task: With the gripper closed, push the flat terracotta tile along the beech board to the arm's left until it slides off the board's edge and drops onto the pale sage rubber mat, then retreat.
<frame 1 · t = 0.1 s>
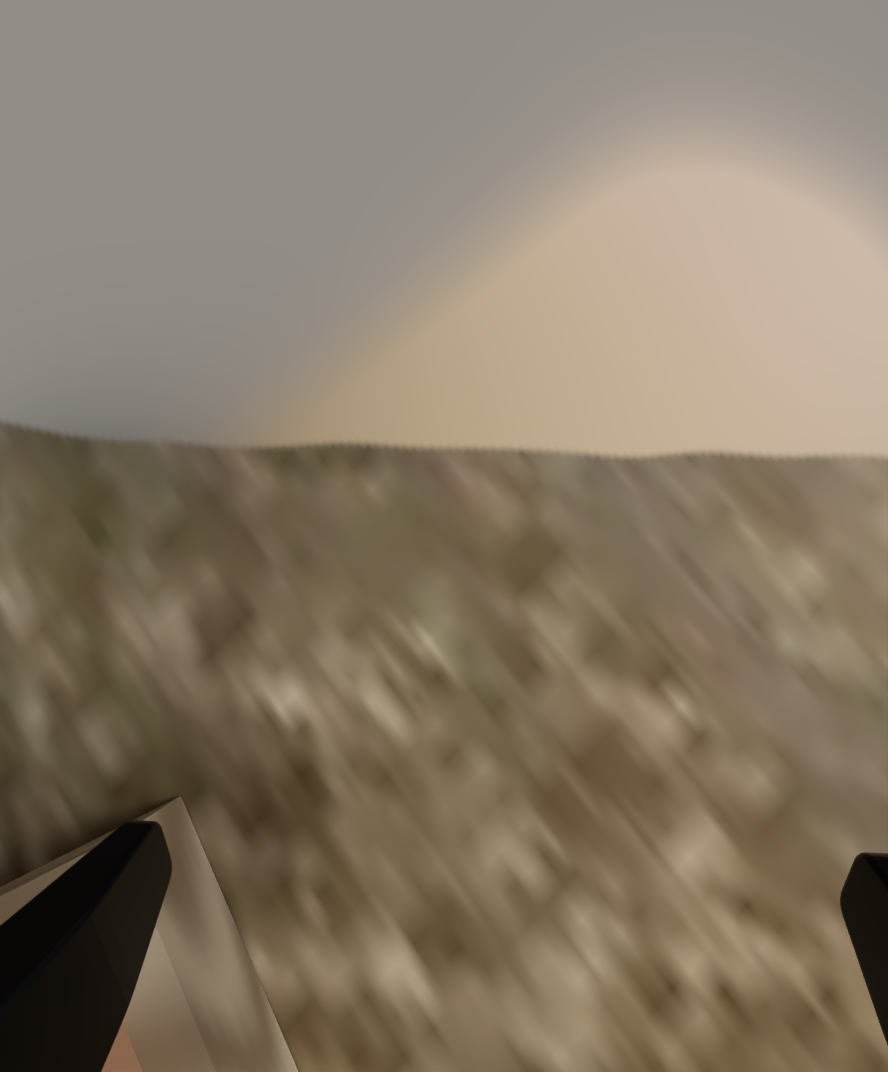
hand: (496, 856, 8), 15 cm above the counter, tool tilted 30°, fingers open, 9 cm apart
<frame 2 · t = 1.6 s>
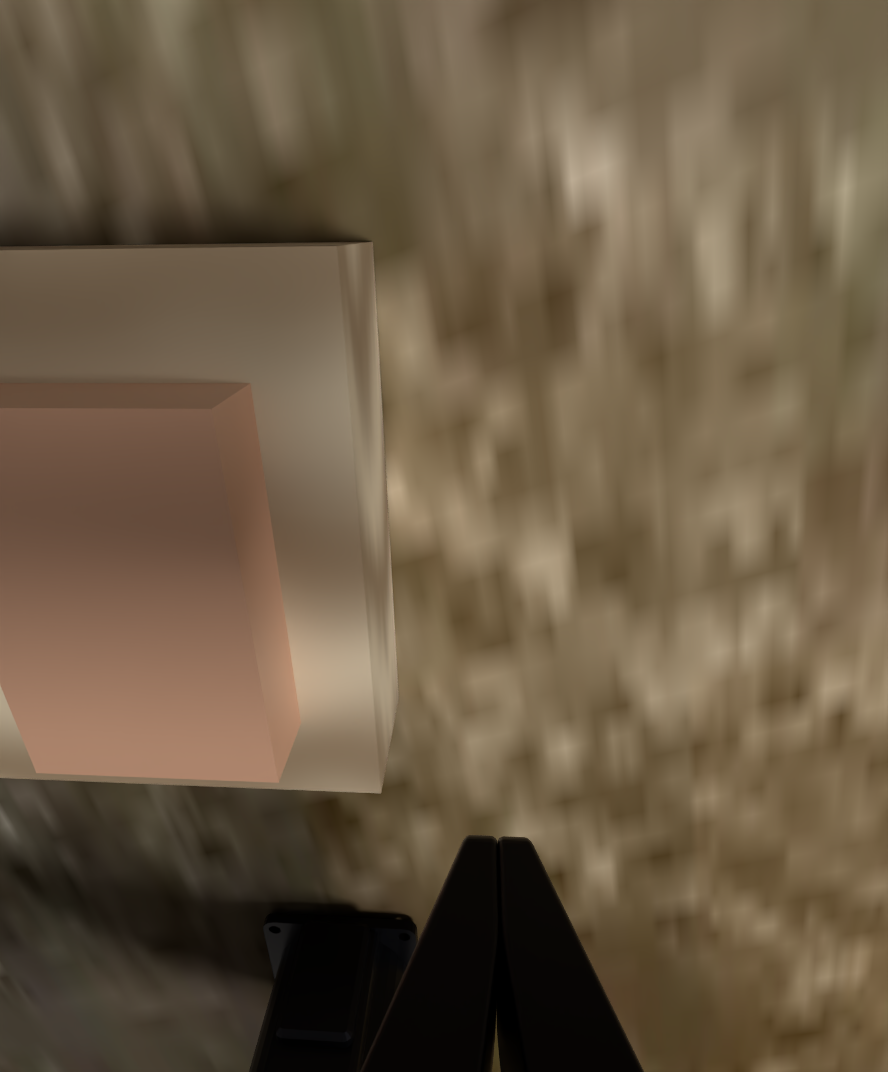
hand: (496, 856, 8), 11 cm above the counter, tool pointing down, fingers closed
tile: (155, 573, 15), point 4 cm above the counter, touching board
board: (121, 505, 19), on the counter
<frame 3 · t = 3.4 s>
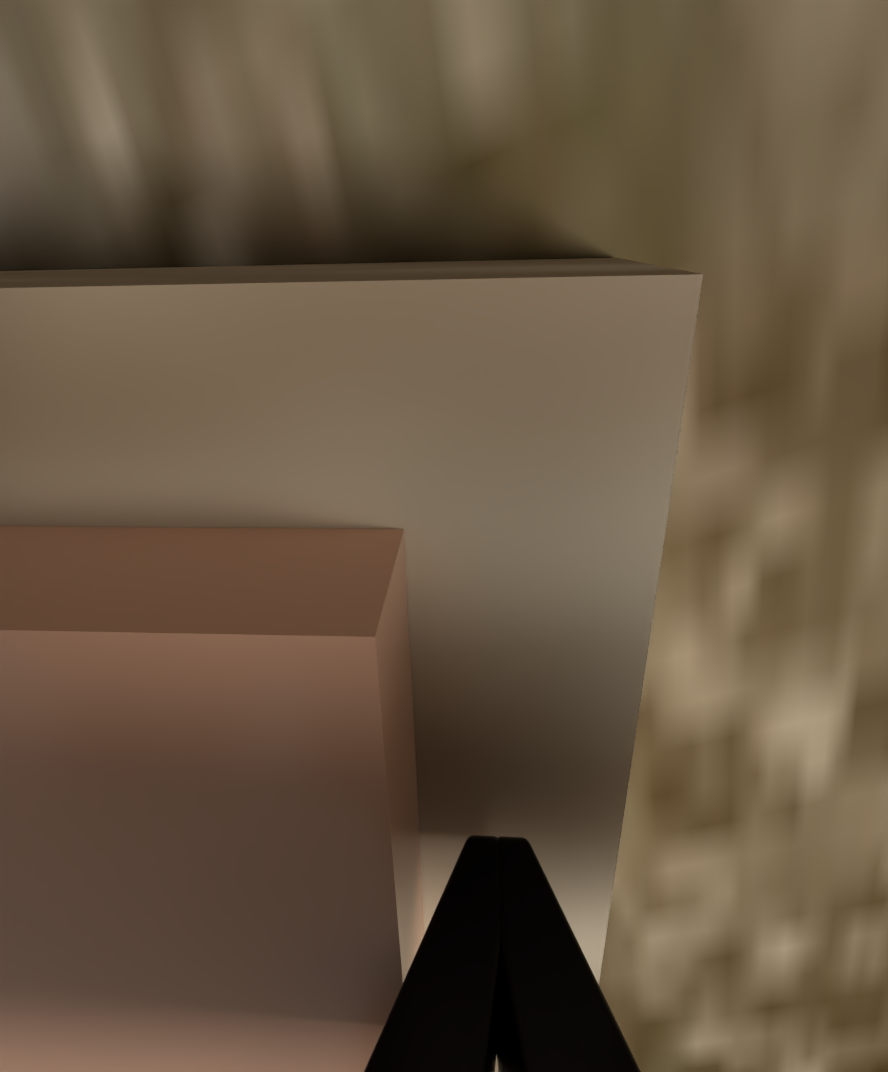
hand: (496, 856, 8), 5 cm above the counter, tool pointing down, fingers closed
tile: (208, 814, 9), point 4 cm above the counter, touching gripper
board: (180, 645, 13), on the counter
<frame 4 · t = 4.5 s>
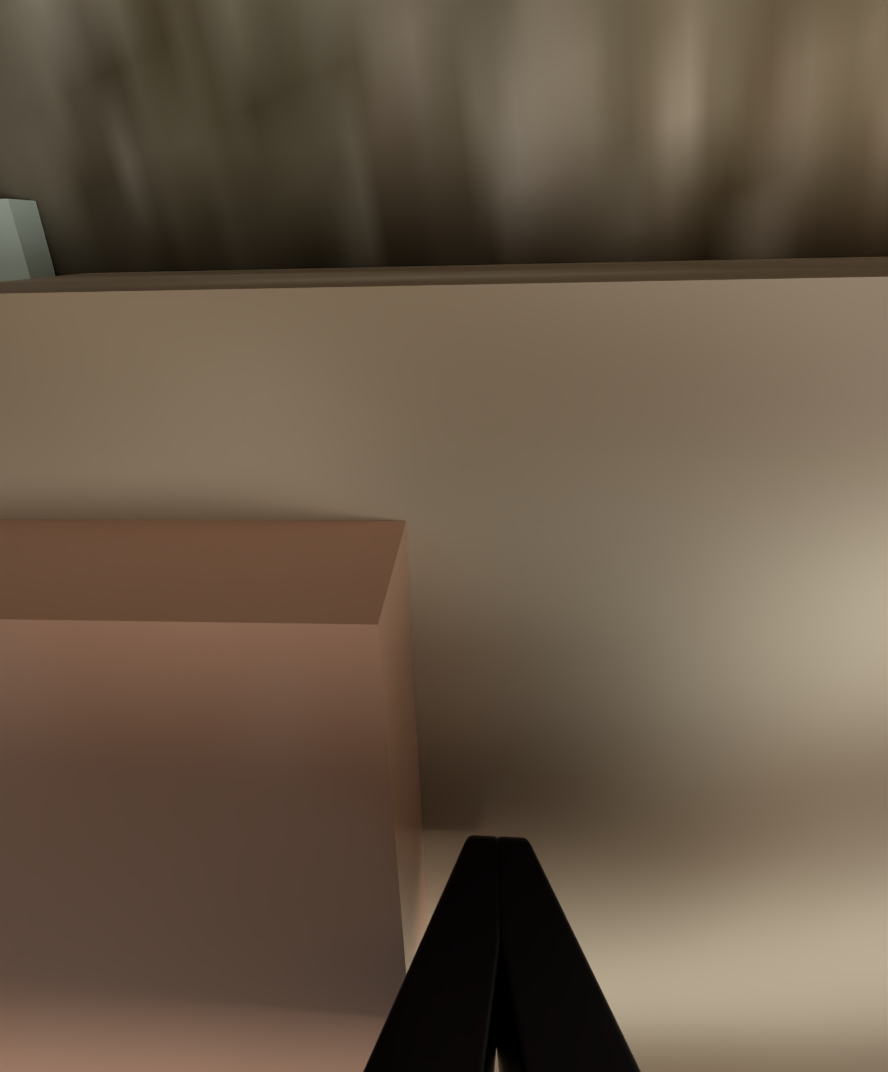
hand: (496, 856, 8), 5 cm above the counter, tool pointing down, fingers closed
tile: (212, 807, 9), point 4 cm above the counter, touching gripper
board: (576, 652, 12), on the counter
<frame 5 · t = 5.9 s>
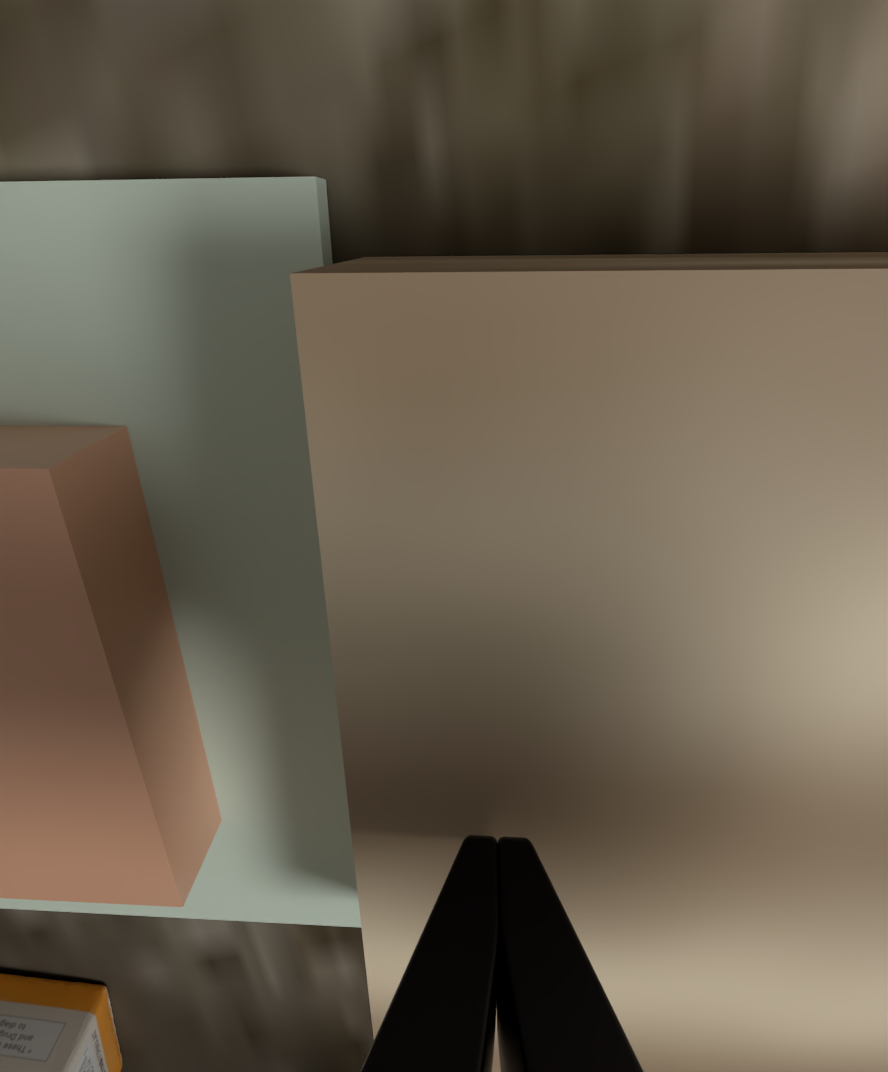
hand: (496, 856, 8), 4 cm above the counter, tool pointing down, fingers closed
mat: (94, 638, 13), on the counter
board: (808, 657, 12), on the counter
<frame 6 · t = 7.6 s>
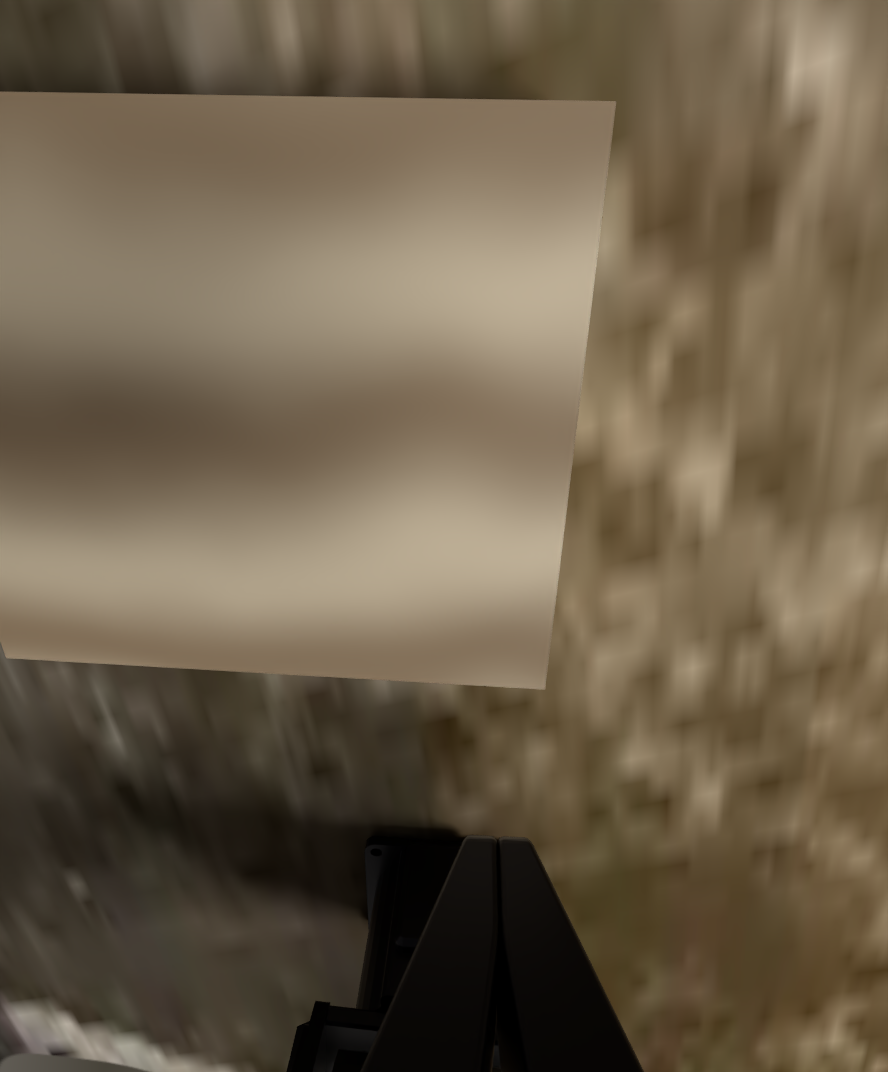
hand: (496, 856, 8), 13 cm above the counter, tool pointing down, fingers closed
board: (287, 401, 19), on the counter
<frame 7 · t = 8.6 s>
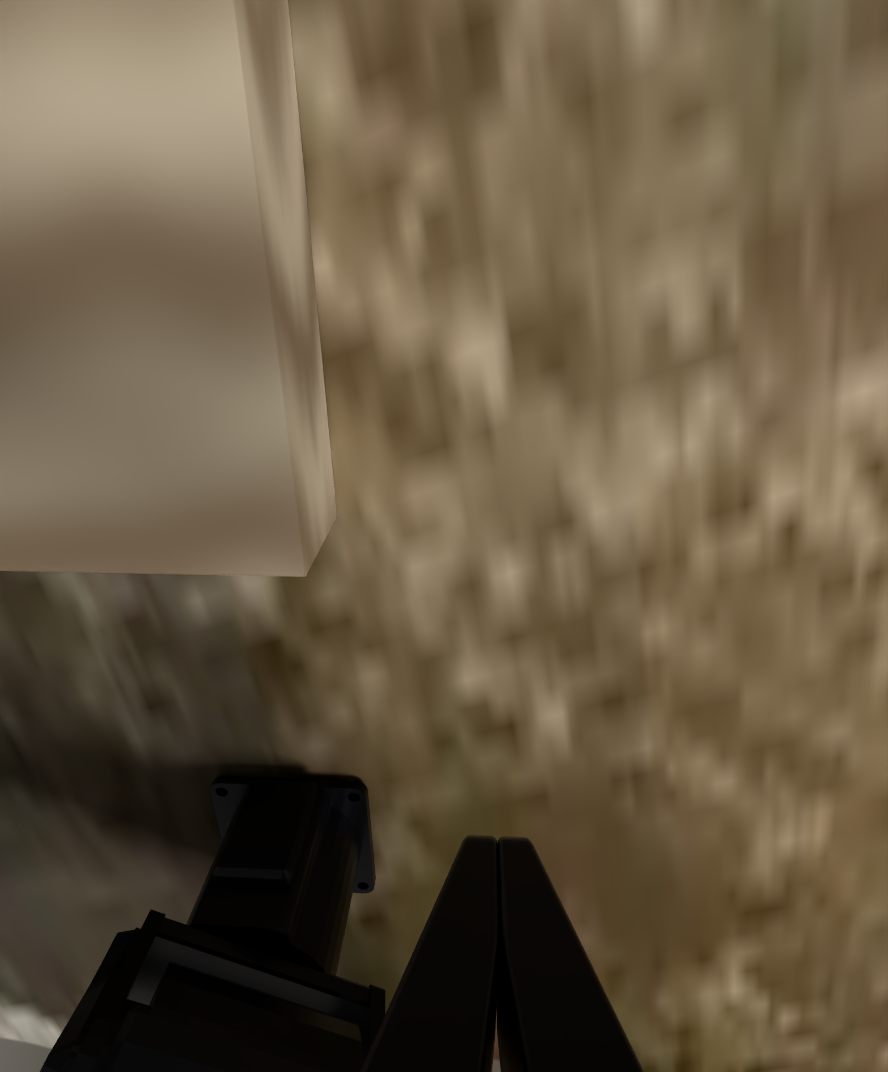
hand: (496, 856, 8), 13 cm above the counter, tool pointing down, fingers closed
board: (41, 290, 18), on the counter
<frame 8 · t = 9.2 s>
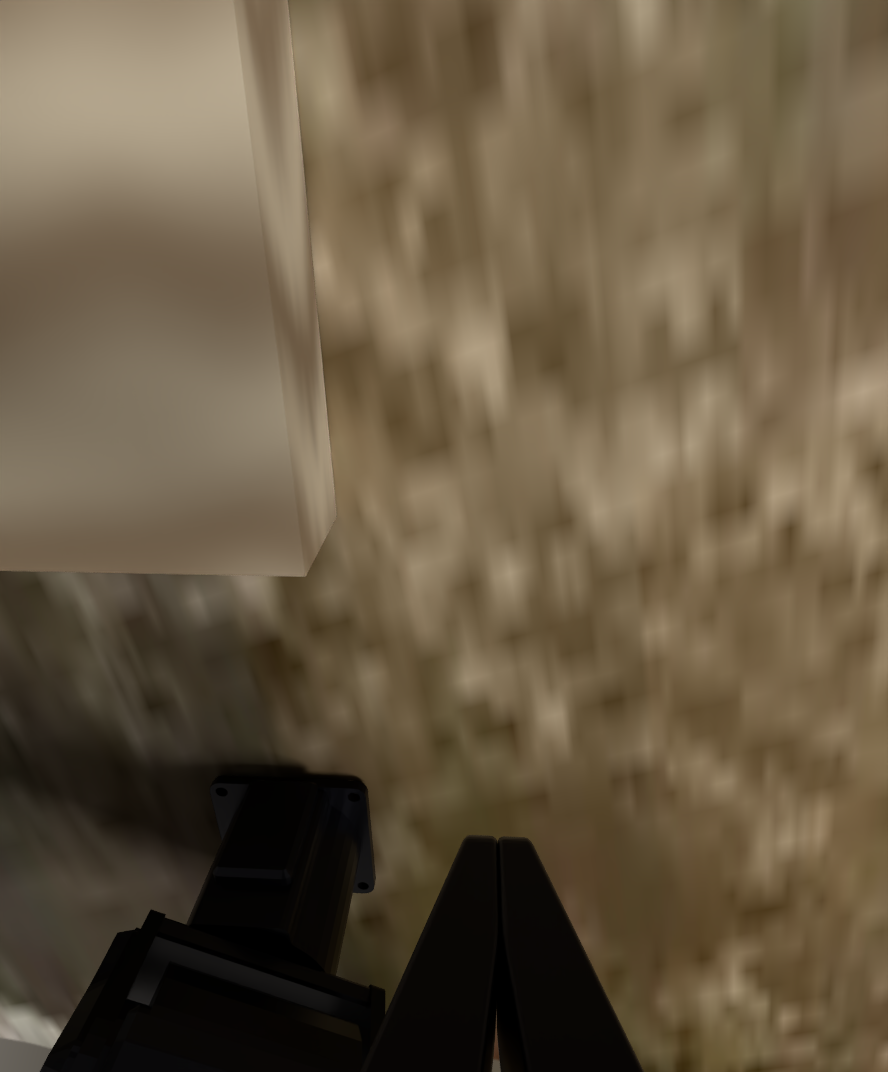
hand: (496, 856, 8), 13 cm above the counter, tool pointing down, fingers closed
board: (41, 290, 18), on the counter
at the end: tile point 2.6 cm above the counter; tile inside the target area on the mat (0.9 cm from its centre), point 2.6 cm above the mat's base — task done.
